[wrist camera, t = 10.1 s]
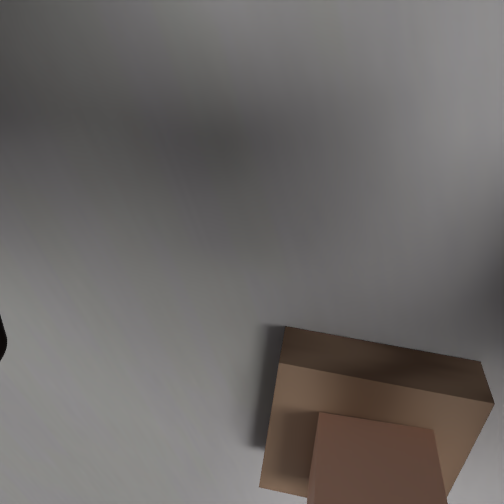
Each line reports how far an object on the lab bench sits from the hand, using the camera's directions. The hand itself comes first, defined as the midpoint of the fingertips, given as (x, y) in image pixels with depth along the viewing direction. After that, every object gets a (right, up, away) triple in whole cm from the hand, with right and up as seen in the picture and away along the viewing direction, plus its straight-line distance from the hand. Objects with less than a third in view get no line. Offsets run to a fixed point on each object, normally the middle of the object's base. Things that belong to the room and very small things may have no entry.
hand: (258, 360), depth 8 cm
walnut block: (+6, -6, +17) cm, 19 cm away
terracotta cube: (+5, -8, +15) cm, 18 cm away
